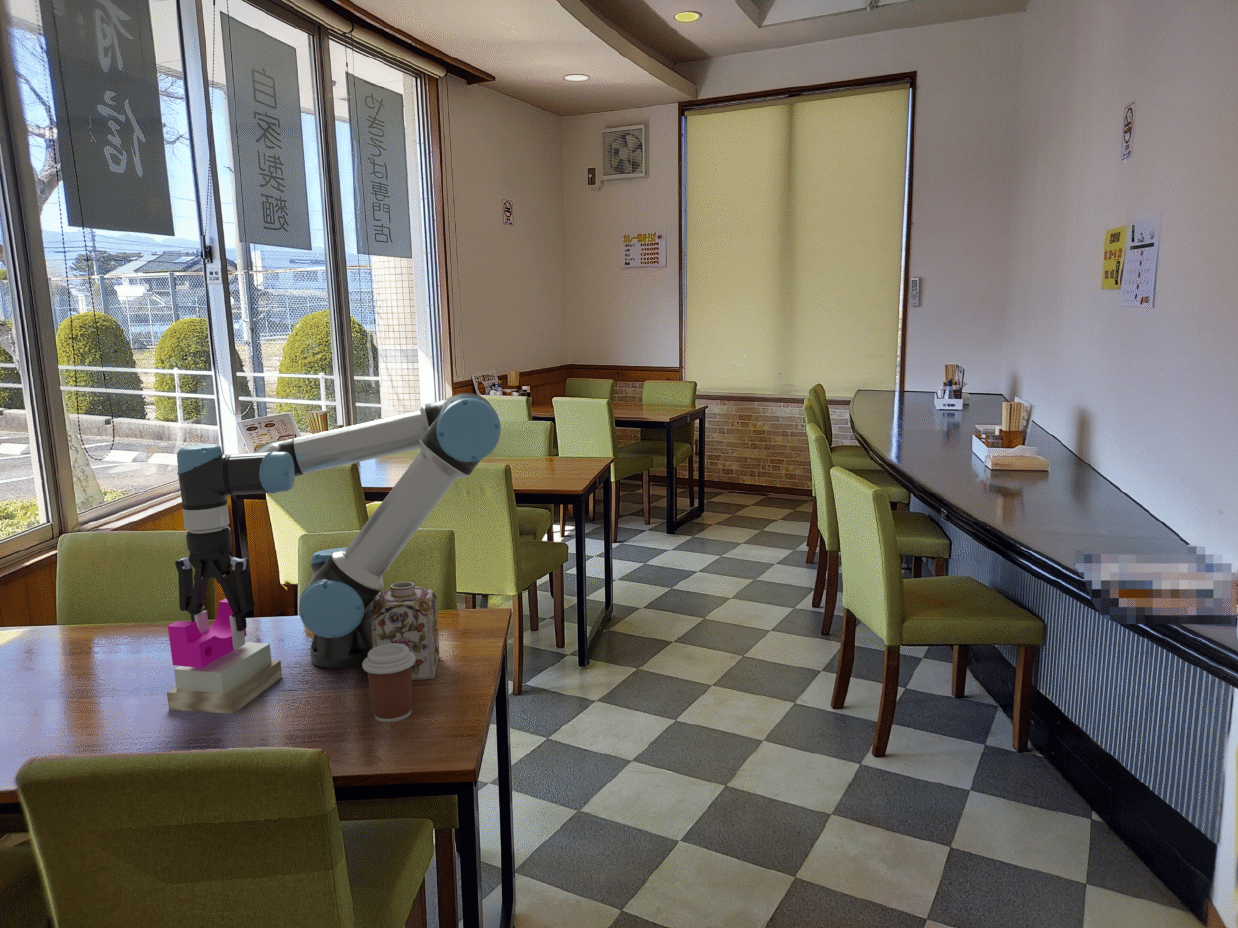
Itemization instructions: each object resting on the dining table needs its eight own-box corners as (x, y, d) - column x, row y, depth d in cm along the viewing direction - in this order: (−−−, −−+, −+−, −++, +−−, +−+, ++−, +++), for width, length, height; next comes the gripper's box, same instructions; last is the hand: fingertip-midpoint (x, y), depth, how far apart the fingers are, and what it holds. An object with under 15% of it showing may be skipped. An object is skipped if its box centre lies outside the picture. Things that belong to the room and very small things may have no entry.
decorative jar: (374, 684, 163) (367, 595, 160) (383, 660, 175) (376, 577, 172) (436, 679, 165) (431, 591, 162) (441, 656, 176) (436, 573, 173)
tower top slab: (271, 662, 166) (269, 643, 166) (223, 693, 153) (220, 672, 152) (228, 659, 169) (226, 640, 168) (176, 689, 155) (174, 668, 155)
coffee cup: (393, 698, 157) (388, 637, 155) (430, 708, 152) (425, 645, 150) (355, 718, 149) (350, 654, 147) (393, 730, 144) (387, 664, 142)
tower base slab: (282, 679, 168) (280, 660, 167) (233, 716, 153) (231, 695, 152) (223, 676, 170) (221, 657, 170) (169, 712, 155) (166, 692, 154)
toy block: (201, 667, 150) (196, 628, 149) (172, 665, 152) (167, 625, 151) (257, 636, 165) (253, 599, 163) (230, 634, 166) (226, 598, 165)
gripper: (267, 523, 158) (280, 640, 162) (174, 522, 161) (188, 637, 165) (244, 533, 151) (257, 655, 154) (146, 532, 154) (162, 652, 158)
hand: (221, 645), depth 160 cm, fingers closed on toy block, 6 cm apart
